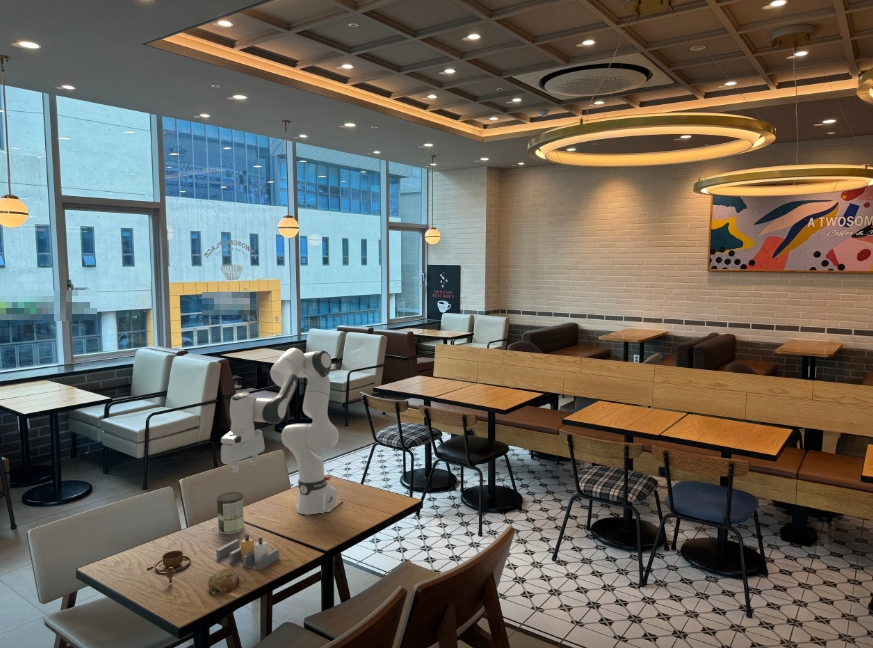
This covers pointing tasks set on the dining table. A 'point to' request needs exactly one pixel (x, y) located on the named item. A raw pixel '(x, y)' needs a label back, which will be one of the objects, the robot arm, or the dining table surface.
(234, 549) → the rack
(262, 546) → the white plug
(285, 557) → the dining table surface
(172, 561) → the place setting
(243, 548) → the orange plug
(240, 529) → the coffee can
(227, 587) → the bread roll
